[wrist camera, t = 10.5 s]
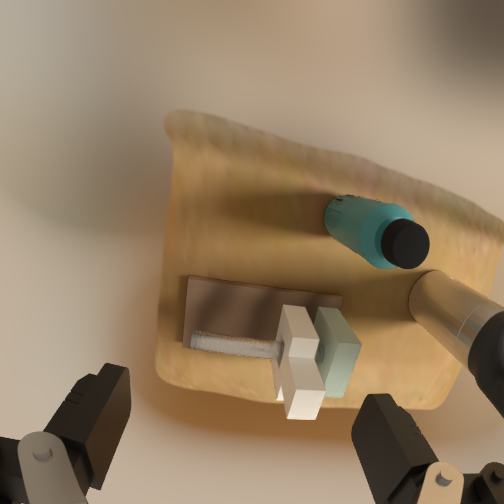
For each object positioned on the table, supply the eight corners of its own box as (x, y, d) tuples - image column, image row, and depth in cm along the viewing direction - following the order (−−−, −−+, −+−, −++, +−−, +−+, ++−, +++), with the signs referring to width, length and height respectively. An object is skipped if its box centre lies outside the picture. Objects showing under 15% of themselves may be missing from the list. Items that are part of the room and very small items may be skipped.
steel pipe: (332, 340, 40) (338, 351, 37) (327, 358, 40) (332, 369, 37) (194, 323, 38) (191, 334, 36) (192, 343, 39) (189, 355, 36)
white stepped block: (304, 307, 42) (333, 370, 27) (291, 362, 44) (309, 435, 29) (283, 304, 41) (302, 368, 27) (270, 360, 44) (281, 434, 29)
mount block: (337, 308, 44) (361, 344, 34) (324, 355, 46) (342, 397, 36) (318, 306, 44) (338, 342, 34) (306, 354, 46) (320, 396, 35)
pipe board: (340, 295, 45) (343, 299, 44) (322, 358, 48) (325, 363, 46) (189, 275, 44) (188, 278, 42) (184, 342, 46) (182, 347, 45)
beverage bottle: (338, 248, 43) (404, 302, 24) (309, 213, 42) (362, 245, 23) (371, 218, 43) (455, 251, 23) (344, 182, 41) (419, 190, 22)
